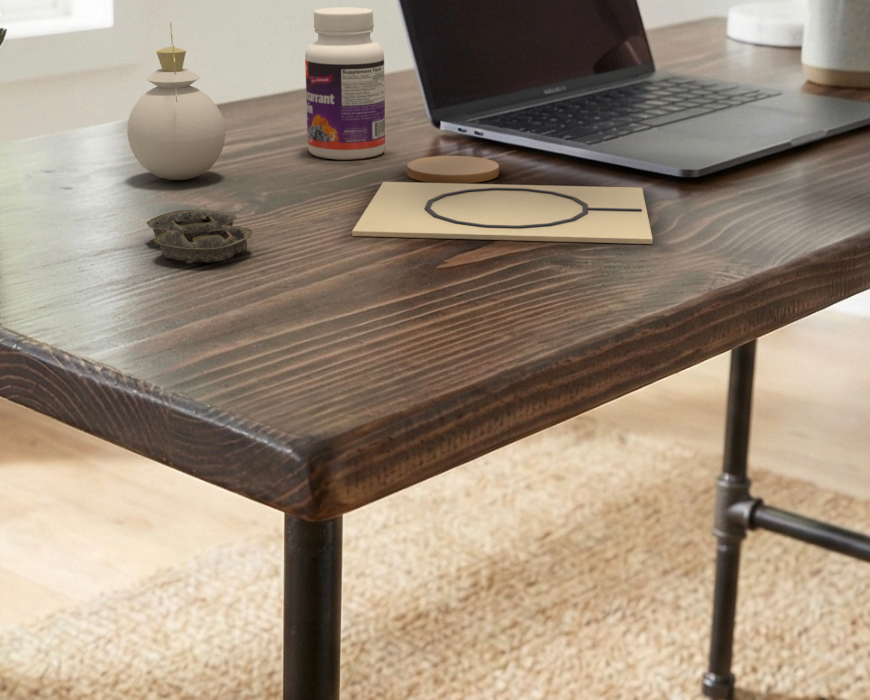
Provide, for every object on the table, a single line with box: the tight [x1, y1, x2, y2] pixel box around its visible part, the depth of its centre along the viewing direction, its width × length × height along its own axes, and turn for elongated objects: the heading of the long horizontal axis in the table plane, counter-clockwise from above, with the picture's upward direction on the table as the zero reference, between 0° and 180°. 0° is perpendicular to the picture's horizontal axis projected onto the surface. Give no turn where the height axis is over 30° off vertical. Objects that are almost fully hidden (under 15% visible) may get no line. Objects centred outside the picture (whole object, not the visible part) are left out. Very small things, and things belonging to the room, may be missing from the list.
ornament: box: [127, 21, 226, 181], centre depth 81 cm, size 6×8×10 cm
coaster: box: [406, 155, 500, 184], centre depth 84 cm, size 6×6×1 cm
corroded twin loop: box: [146, 209, 253, 263], centre depth 67 cm, size 5×8×1 cm, turn 21°
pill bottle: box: [304, 6, 386, 161], centre depth 89 cm, size 5×5×10 cm
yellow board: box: [351, 181, 654, 245], centre depth 75 cm, size 16×12×1 cm
